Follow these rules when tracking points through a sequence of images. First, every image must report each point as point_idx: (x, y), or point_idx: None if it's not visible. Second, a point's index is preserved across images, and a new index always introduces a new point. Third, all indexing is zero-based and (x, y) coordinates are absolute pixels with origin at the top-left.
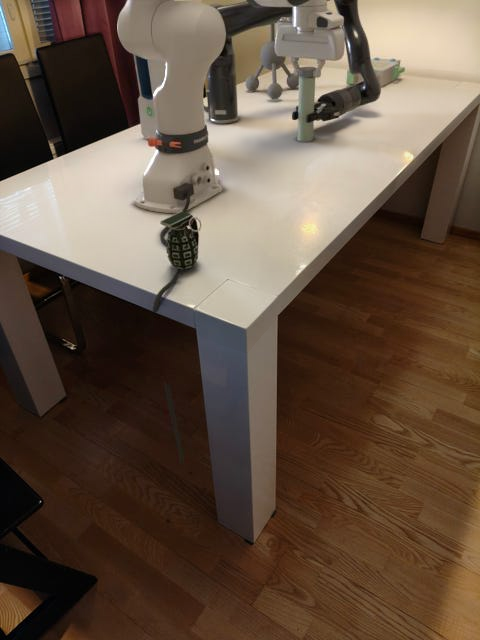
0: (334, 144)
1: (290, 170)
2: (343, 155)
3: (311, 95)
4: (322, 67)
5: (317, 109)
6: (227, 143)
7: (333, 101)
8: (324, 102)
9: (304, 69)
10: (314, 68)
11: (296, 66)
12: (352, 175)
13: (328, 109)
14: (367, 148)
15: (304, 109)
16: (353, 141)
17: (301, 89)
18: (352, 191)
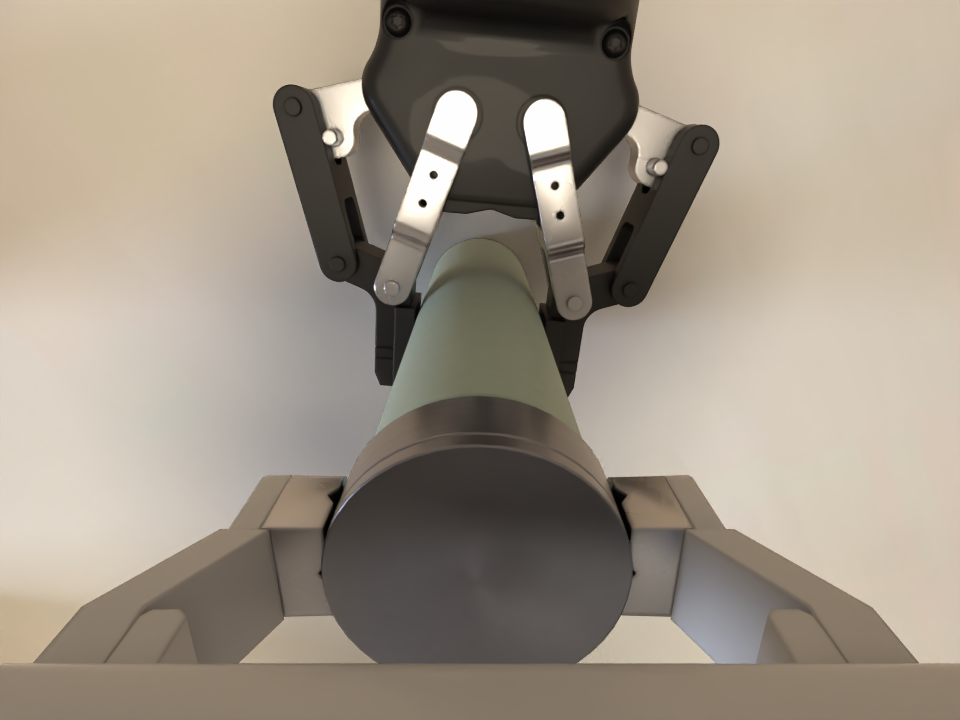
0: (684, 277)
1: (642, 642)
2: (795, 402)
3: None
4: (773, 562)
5: (518, 217)
6: (167, 538)
7: (609, 21)
8: (492, 21)
9: (478, 654)
10: (596, 546)
11: (257, 613)
12: (905, 575)
13: (604, 157)
14: (895, 241)
15: None
16: (775, 165)
17: None
18: None
